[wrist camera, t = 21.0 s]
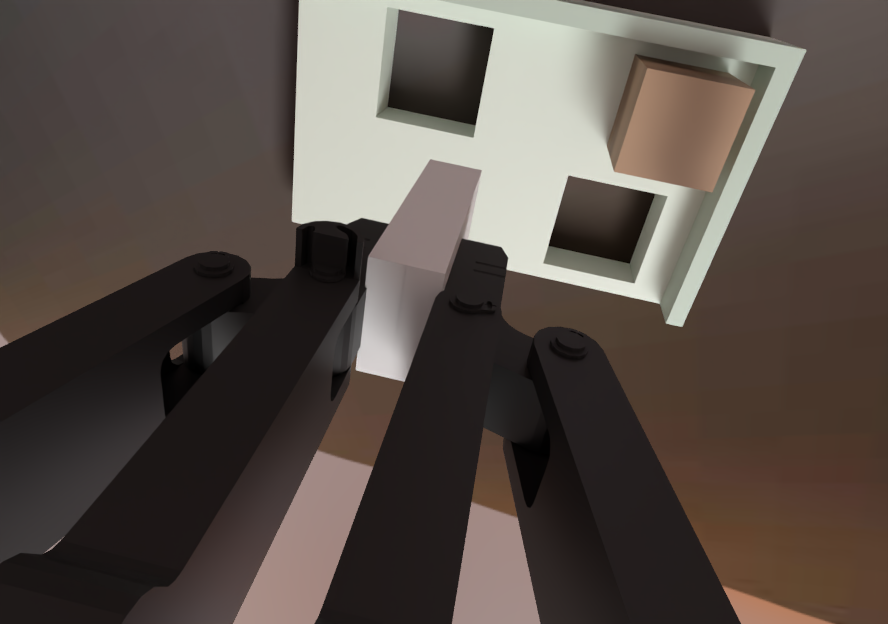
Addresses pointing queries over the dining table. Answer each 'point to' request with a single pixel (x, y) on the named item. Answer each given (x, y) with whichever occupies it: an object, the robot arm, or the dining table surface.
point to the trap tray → (525, 130)
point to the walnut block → (677, 122)
